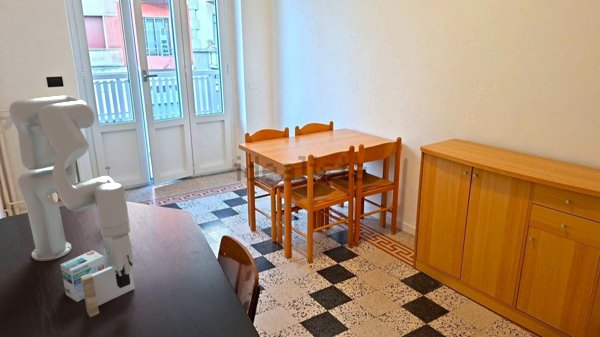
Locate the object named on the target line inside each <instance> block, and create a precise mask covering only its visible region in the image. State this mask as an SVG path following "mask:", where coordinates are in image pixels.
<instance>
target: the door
mask: <svg viewBox="0 0 600 337" xmlns="http://www.w3.org/2000/svg"><path fill="white" fill-rule="evenodd" d="M129 266H130V265H129ZM130 270H131V273H129V277H130V285H127V286H125V287H122V288H119V287H118V286H117V281H116V275H115V274H117V273H115V270H114V269H113V268H112V267H111V266H108V267H106V269H103V270H101V271H98V272H96V273H94V274H91V275H92V276H93V281H94V286H95V292H96V298H97V303H98V307H99V306H101V305H103V304H105V303H107V302H109V301H111V300H114V299H115V298H116V299H117V298H118V297H120V296H123V295H125V294H127V293H128V292H131V291H133V290H134V289H135V288H136V287H135V281H134V273H133V266H130Z"/></svg>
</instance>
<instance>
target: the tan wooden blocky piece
mask: <svg viewBox="0 0 600 337" xmlns="http://www.w3.org/2000/svg"><path fill="white" fill-rule="evenodd" d="M81 281H82V287H83V292H84V301H85V308H86V313H87V315H88V316H89V317H90V318H92V317H94V316H97V315H99V314H100V310H99V306H98V303H97V298H96V292H95V286H94V281H93V276H92V275H91V274H90V273H89V274H87V275H84V276H81Z"/></svg>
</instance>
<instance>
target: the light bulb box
mask: <svg viewBox="0 0 600 337" xmlns="http://www.w3.org/2000/svg"><path fill="white" fill-rule="evenodd" d="M106 268H107V266H106V261H105V259H104V254H103V255H102V254H100V253H99V252H97V251H95V250H93V249H92V250H90V251H88V252H85V253H83V254H80V255H79V256H76V257H74V258H72V259H70V260H67V261H65V262H63V263H60V270H61V274H62V275H61V276H62V280H63V284H64V286H63V287H64V290H65V295H66V296H67V297H69V298H71V300H73V301H75V302H76V303H77V302H80V301H82V300H85V298H84V292H83V287H82V281H81V276H84V275H87V274H89V273H90V274H94V273H96V272H98V271H101V270H103V269H106Z"/></svg>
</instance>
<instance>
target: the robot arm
mask: <svg viewBox="0 0 600 337" xmlns="http://www.w3.org/2000/svg"><path fill="white" fill-rule="evenodd" d="M8 109H9V111H8V112H9V116H10V120H11V121H12V123H13V124H14V126H15V128H16V131H17V135H18V143H19V144H18V145H19V152H20V154H19V155H20V160H21V163H22V165H23V167H24V168H25V169H28V170H27V171H25V172H23V173H21V174H20V175H19V177H18V179H17V185H18V189H19V190H20V191H19V192H20V193H21V196H22V198H23V201H24V203H25V207H26V211H27V215H28V216H27V217H28V220H29V224H30V228H31V233H32V238H33V242H34V243H33V244H34V247H35V249H34V250H33V251H32V252H31V257H32V259H33V260H34V261H38V262H45V261H53V260H57V259H59V258H62V257H64V256H66V255H67V254H69V253H70V252H71V251H72V250H73V247H72V244H71V243H70V242H68V241H67V240H66V236H65V231H64V226H63V221H62V215H61V210H60V206H59V204H58V202H57V201H56V200H54V199H53V198H51V197H50V195H53V194H56V193H57V194H58V197H59V198H60V200H61V202H62V204H63V205H64V206H65V207H66V208H67V209H68V210H69V211H71V212H80V211H84V210H87V209H89V208H93V207H95V206H96V212H97V219H98V226H99V232H100V236H101V237H102V238H101V239H102V249H103V256H104V259H105V263H106V264H108V266H109V267H112V268H113V269H114V270H115V273H117V274H115V275H116V281H117V286H118V287H119V288H122V287H125V286H127V285H130V277H129V273H131V270H130V266H132V267H133V266H134V264H135V262H134V261H135V260H134V259H135V258H134V254H133V248H132V247H133V246H132V242H131V239H130V235H129V233H130V232H131V225H130V218H129V210H128V202H127V196H126V189H125V187H124V185H123V184H121V183H118V182H116V180H115V179H114V178H112V177H111V176H110V175H102V176H98V177H94V178H90V179H85V180H82V181H79V182H77V169H76V168H77V167H76V166H77V164H76V161H78V159H79V160H80V158H82V157H83V156H84V155H85V154H86V153H87V152H88V151H89V149H90V144H89V142H88V141H87V139H86V137H85V135H84V134H83V132H82V130H81V129H86V128H90V127H92V126H93V125H94V123H95V114H94V111H93V108H92V107H91V106H90V105H89V104H88V103H87V102H86V101H84V100H82V99H80V98H77V97H74V96H71V95H57V96H56V95H55V96H47V97H43V96H42V97H35V98H34V97H33V98H25V99H17V100H15V101H13V102H11V104H10V105H9V108H8ZM129 265H130V266H129Z"/></svg>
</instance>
